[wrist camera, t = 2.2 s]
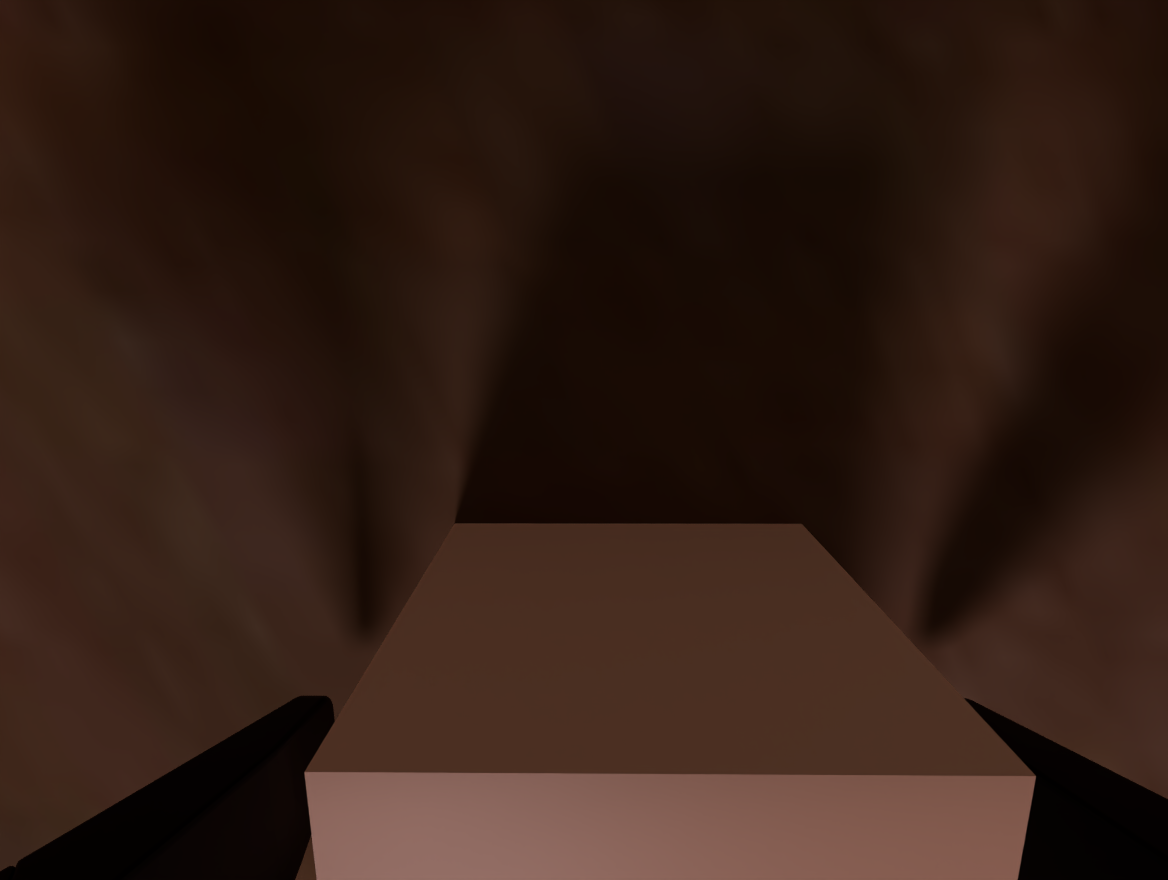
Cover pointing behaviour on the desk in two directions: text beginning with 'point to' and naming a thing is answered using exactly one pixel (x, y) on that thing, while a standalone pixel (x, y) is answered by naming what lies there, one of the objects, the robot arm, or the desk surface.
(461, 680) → the terracotta block
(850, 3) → the desk surface
